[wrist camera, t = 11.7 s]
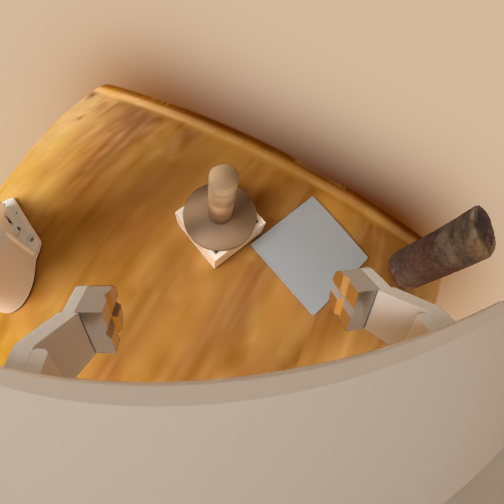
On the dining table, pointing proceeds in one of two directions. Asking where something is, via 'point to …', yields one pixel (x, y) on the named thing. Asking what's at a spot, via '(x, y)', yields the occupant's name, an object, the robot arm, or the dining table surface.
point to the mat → (309, 253)
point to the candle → (445, 250)
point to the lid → (220, 212)
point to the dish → (219, 256)
